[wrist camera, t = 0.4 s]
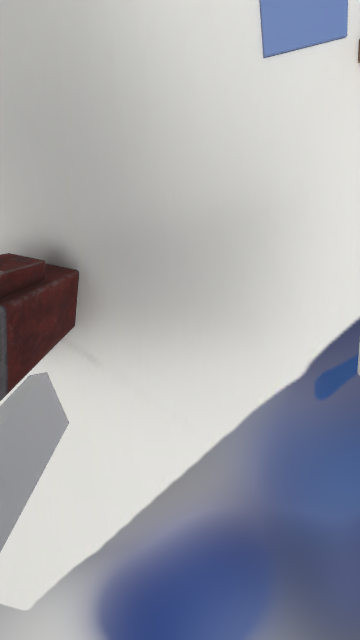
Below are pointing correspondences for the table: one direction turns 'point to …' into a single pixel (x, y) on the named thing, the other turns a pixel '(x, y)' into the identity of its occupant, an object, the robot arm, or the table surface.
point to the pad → (301, 23)
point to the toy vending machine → (32, 313)
